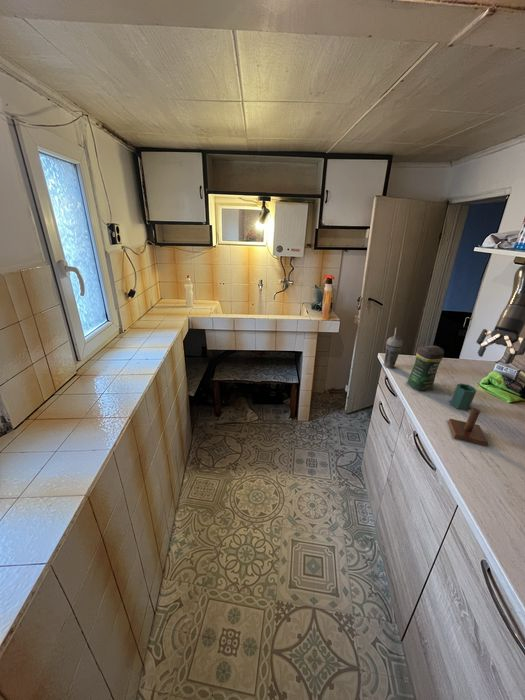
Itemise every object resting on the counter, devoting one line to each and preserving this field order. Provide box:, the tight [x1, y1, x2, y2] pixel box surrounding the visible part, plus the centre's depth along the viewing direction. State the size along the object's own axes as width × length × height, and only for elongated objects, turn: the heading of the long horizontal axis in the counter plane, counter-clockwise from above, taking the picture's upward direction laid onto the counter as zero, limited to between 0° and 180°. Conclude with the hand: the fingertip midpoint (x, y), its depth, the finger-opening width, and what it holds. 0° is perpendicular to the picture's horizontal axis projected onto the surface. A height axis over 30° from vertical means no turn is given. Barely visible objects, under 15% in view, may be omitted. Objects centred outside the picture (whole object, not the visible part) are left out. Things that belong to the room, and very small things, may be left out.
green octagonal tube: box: [450, 383, 477, 411], centre depth 108 cm, size 6×6×8 cm
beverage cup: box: [383, 327, 404, 369], centre depth 133 cm, size 7×7×20 cm
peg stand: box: [448, 407, 489, 447], centre depth 92 cm, size 9×9×10 cm
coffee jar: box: [407, 345, 445, 391], centre depth 117 cm, size 10×8×19 cm
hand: (492, 359), depth 105 cm, fingers open, 8 cm apart
